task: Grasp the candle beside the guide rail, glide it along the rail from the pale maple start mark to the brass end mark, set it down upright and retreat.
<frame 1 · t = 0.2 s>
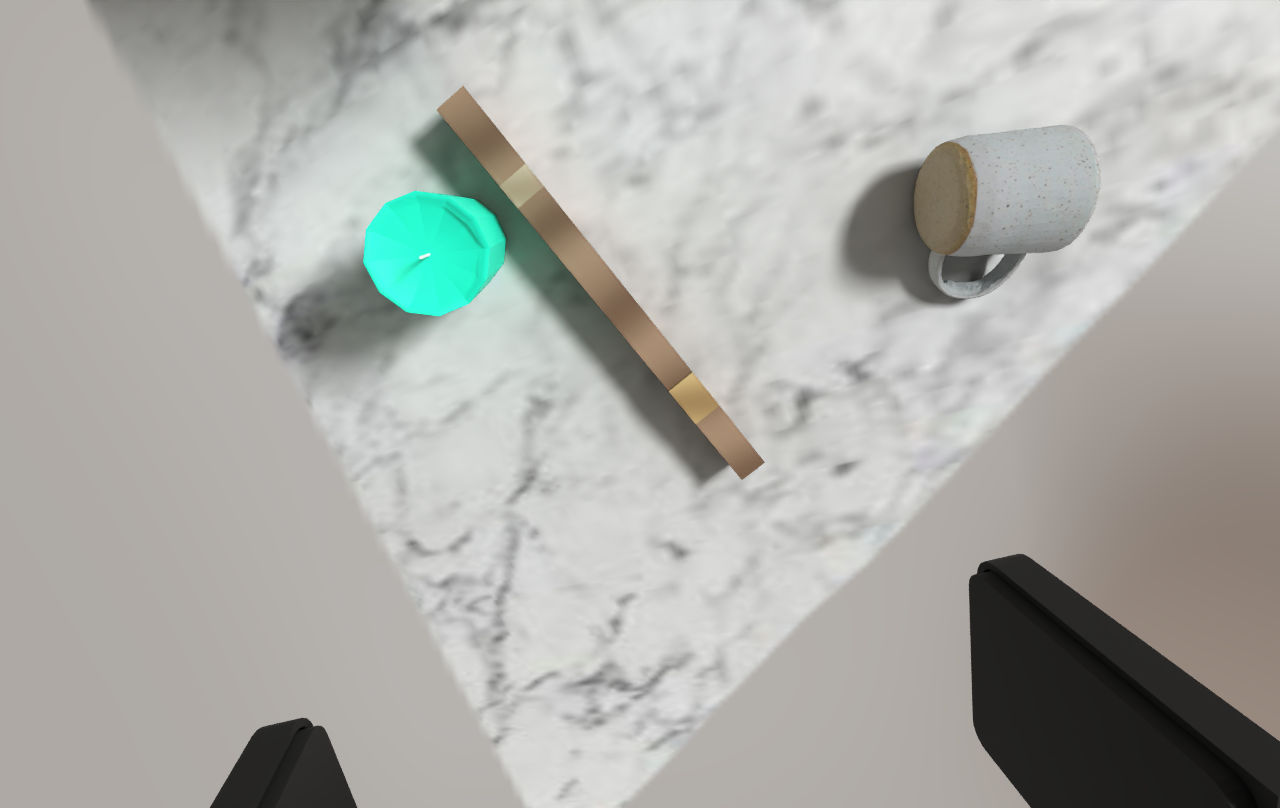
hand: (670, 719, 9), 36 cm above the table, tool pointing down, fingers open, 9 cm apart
ceramic mug: (963, 215, 45), on the table
candle: (459, 243, 42), on the table
guide rail: (614, 298, 44), on the table
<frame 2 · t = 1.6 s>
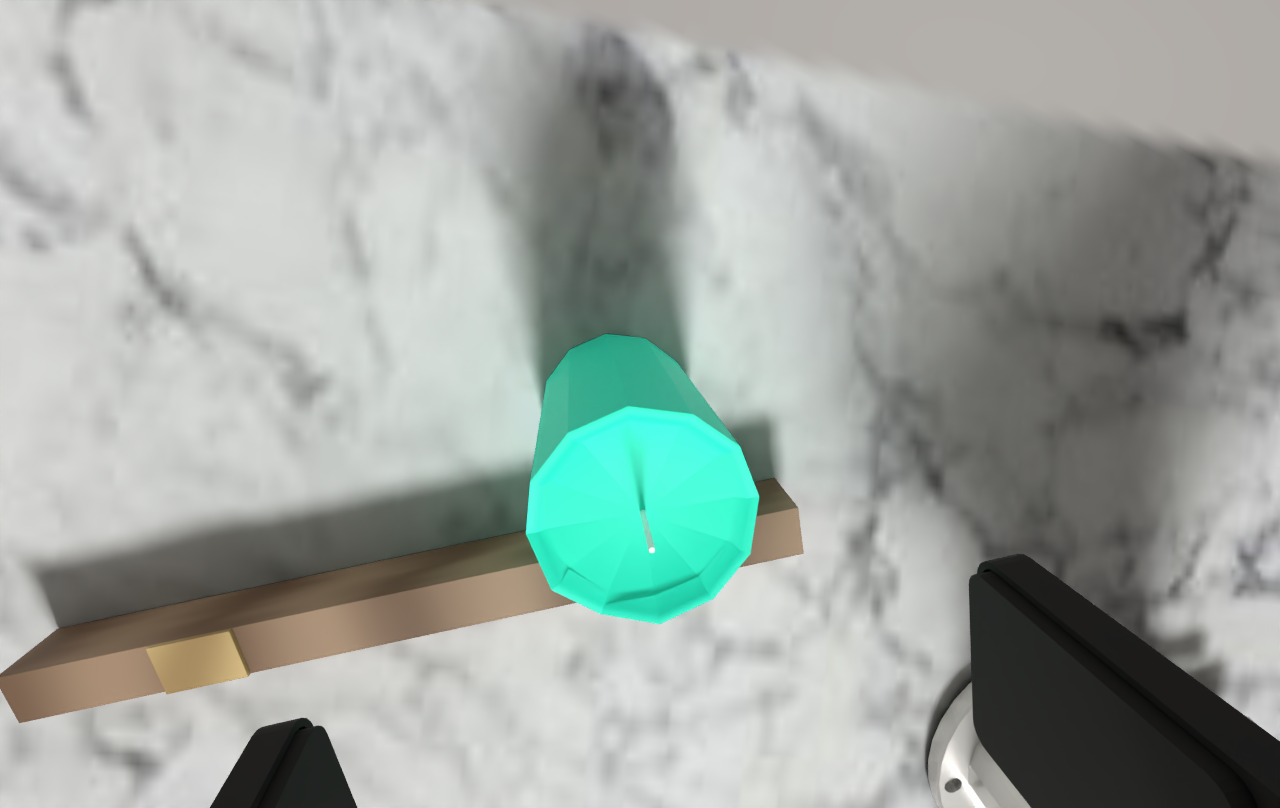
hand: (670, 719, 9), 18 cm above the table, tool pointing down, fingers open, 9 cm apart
candle: (616, 405, 26), on the table
guide rail: (431, 572, 27), on the table
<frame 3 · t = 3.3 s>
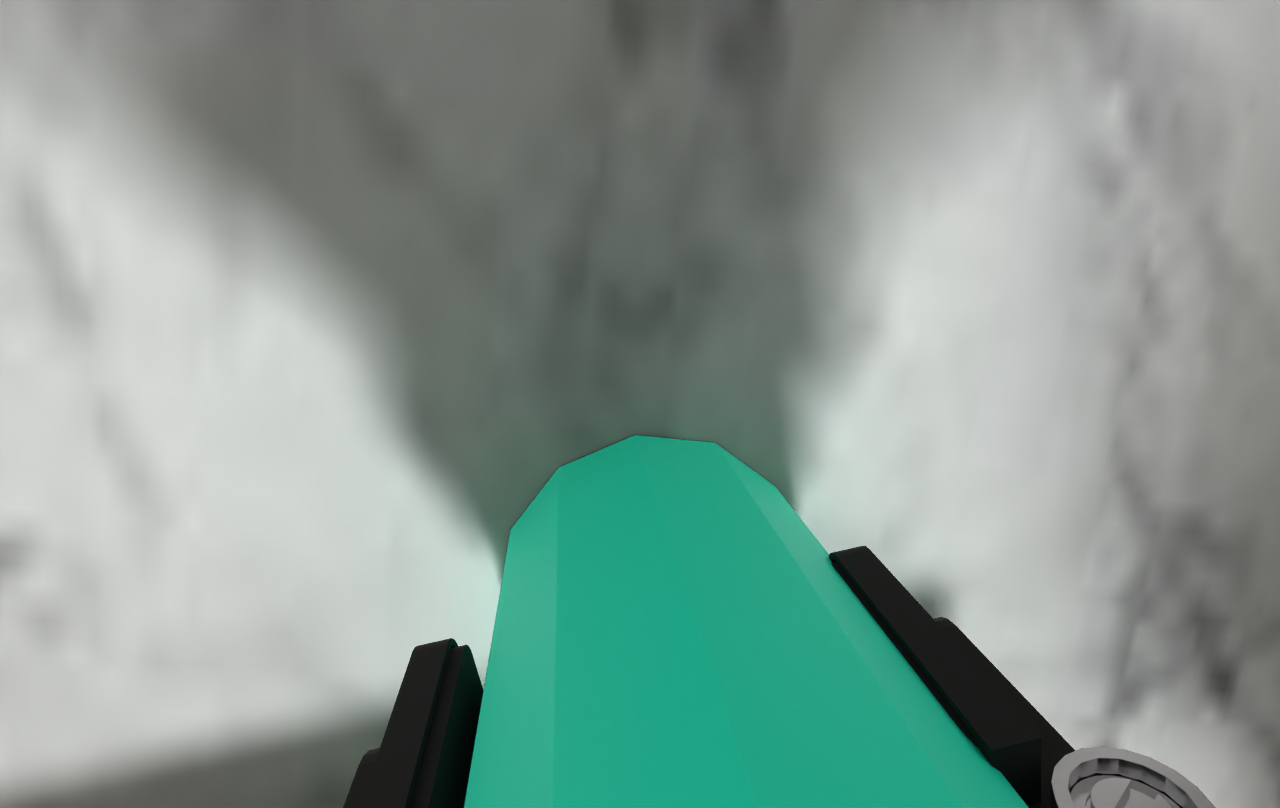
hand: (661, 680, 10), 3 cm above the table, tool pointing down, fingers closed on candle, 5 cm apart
candle: (652, 570, 13), on the table, touching gripper
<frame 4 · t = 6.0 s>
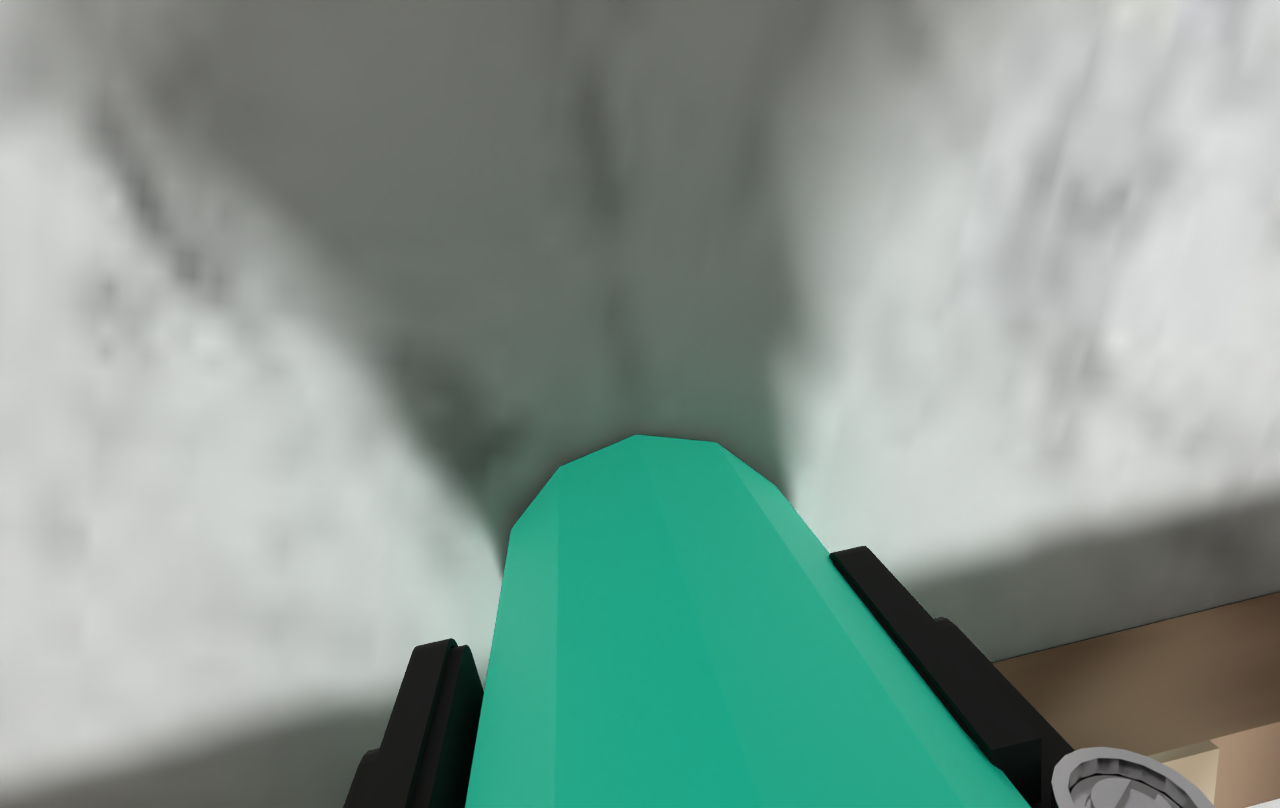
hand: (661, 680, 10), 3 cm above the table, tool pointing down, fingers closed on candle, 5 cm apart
candle: (653, 569, 13), on the table, touching gripper
guide rail: (682, 775, 15), on the table
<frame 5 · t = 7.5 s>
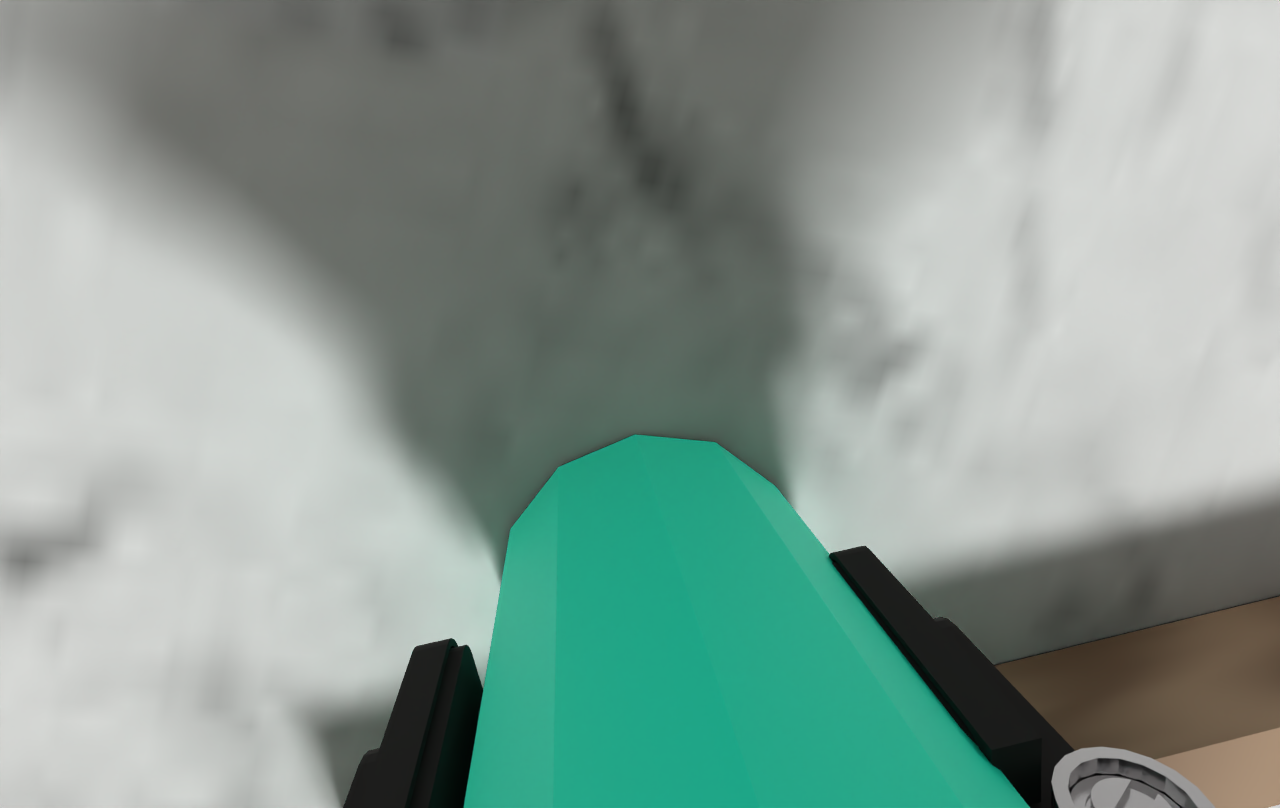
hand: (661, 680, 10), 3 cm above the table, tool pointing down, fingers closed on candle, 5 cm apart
candle: (652, 569, 13), on the table, touching gripper
guide rail: (1004, 698, 15), on the table
when the fingers open (3 cm above the table, at t = 8.6 s): candle stays where it is, on the table.
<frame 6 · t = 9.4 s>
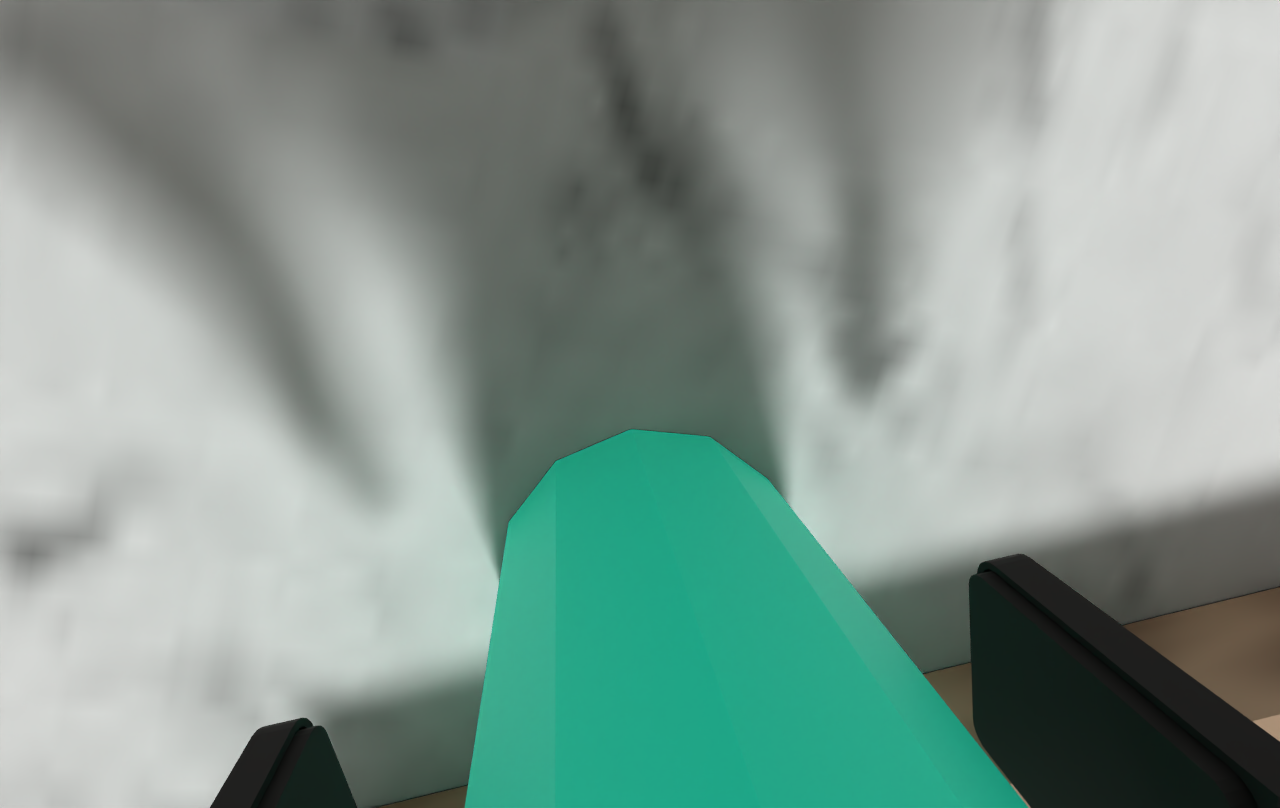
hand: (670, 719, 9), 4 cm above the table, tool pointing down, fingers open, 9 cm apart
candle: (647, 561, 13), on the table
guide rail: (999, 690, 15), on the table
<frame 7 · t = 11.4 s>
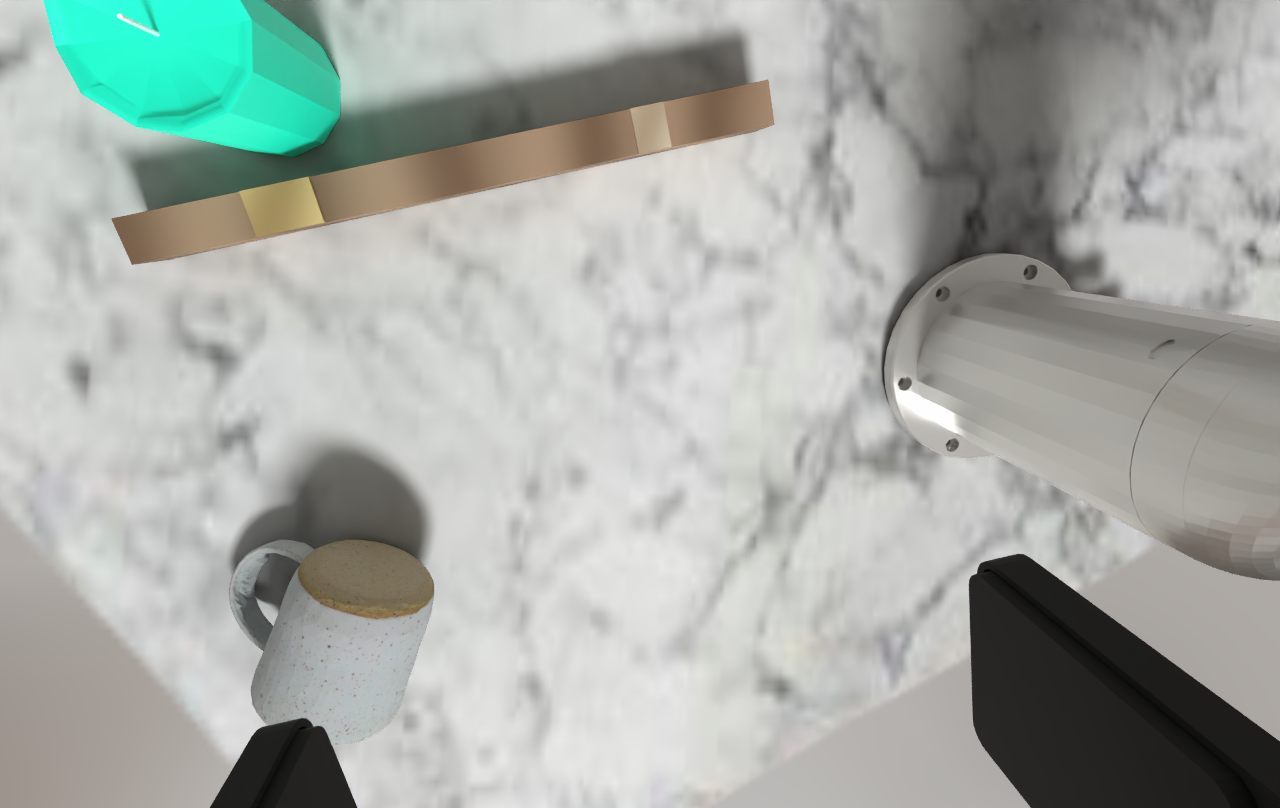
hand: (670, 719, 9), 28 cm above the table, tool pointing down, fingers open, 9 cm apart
ceramic mug: (342, 591, 38), on the table
candle: (275, 89, 30), on the table
guide rail: (467, 172, 33), on the table
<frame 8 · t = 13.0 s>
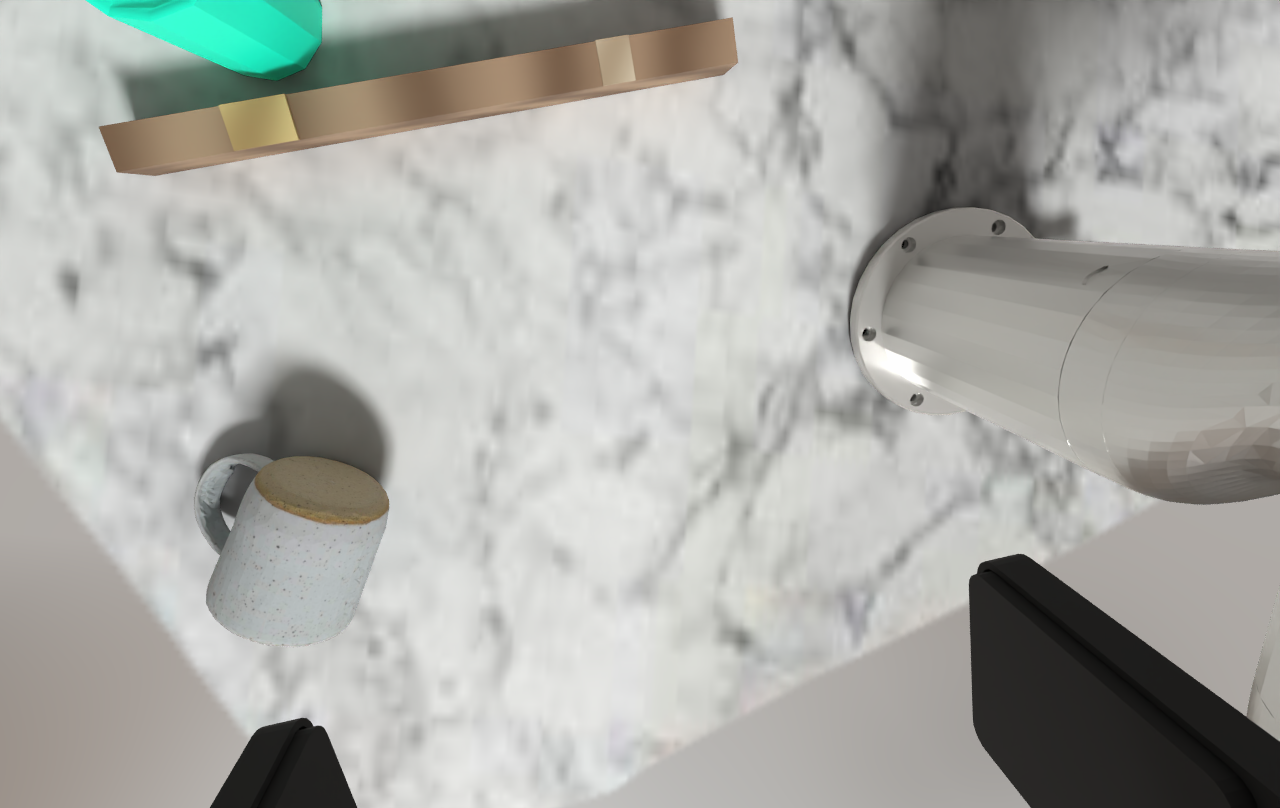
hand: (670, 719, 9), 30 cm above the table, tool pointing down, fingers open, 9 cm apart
ceramic mug: (305, 510, 39), on the table
candle: (261, 15, 32), on the table
guide rail: (441, 103, 34), on the table
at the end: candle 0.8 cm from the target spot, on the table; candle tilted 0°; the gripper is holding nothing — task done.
